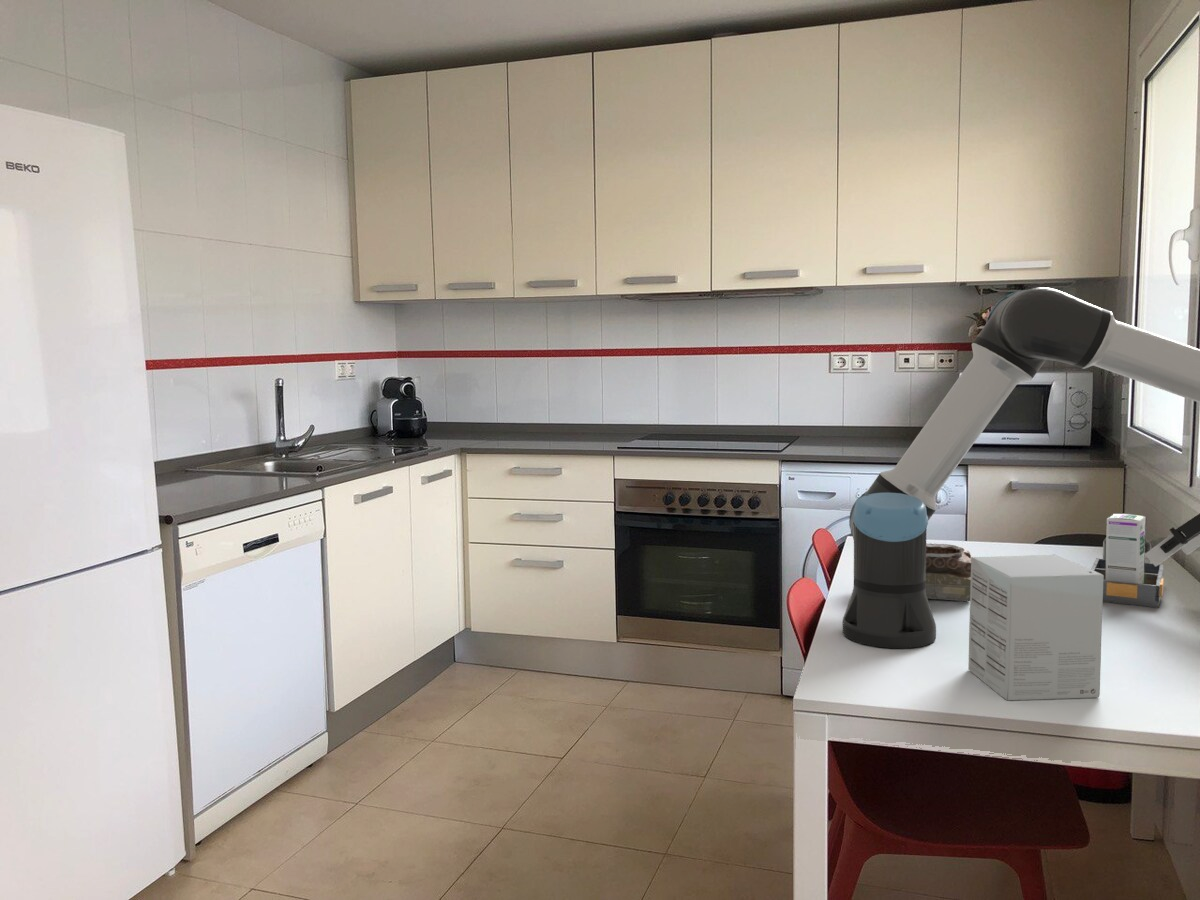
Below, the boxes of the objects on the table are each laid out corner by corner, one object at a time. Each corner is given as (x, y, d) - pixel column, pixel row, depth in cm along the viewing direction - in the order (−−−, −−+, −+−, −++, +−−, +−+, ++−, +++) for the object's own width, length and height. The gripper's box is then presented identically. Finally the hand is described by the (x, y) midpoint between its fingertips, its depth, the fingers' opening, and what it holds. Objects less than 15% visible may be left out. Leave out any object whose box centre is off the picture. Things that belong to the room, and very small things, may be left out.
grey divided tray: (1161, 608, 173) (1162, 587, 173) (1085, 600, 180) (1085, 579, 179) (1165, 584, 190) (1166, 564, 190) (1095, 577, 197) (1096, 558, 196)
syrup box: (1138, 596, 177) (1141, 519, 175) (1103, 592, 181) (1106, 516, 179) (1144, 590, 181) (1147, 515, 180) (1109, 585, 185) (1112, 512, 183)
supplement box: (1052, 667, 143) (1056, 553, 142) (1101, 698, 130) (1106, 574, 128) (966, 669, 143) (968, 555, 141) (1006, 701, 130) (1009, 576, 128)
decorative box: (975, 611, 173) (976, 559, 172) (863, 602, 181) (863, 552, 180) (977, 594, 186) (978, 545, 184) (872, 586, 193) (872, 539, 192)
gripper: (1256, 507, 152) (1152, 582, 165) (1308, 490, 167) (1209, 560, 180) (1220, 471, 155) (1121, 547, 169) (1274, 458, 170) (1179, 529, 184)
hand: (1166, 554), depth 174 cm, fingers open, 13 cm apart
